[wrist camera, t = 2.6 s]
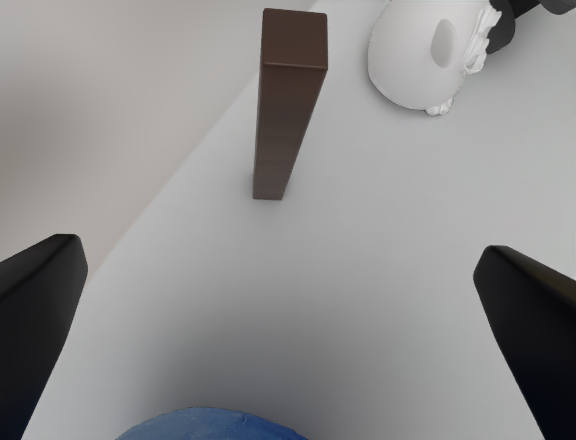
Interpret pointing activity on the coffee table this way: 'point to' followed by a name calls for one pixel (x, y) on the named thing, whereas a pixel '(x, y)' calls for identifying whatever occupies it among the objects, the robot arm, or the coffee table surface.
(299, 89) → the stick
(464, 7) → the figurine
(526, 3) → the character figurine
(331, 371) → the coffee table surface
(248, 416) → the blueberry
